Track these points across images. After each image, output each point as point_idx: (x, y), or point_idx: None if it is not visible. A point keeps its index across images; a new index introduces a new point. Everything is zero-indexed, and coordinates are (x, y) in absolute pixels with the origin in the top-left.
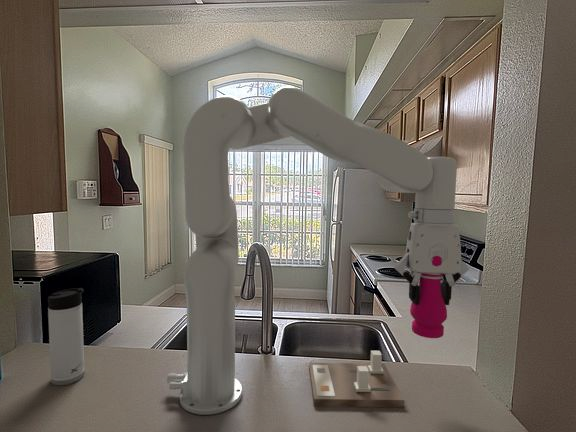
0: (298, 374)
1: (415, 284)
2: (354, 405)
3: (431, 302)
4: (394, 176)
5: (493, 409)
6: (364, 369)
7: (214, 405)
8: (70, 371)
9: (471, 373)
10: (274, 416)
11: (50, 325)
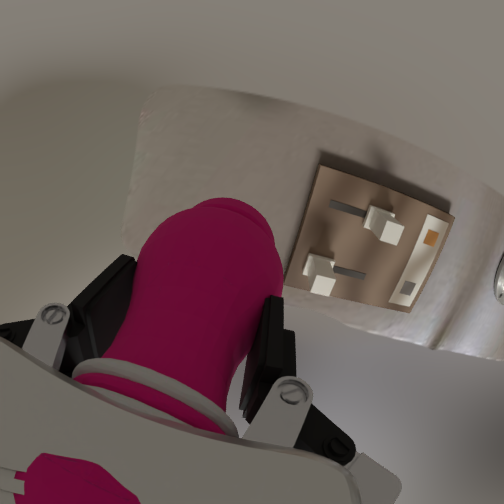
0: (427, 295)
1: (283, 385)
2: (400, 192)
3: (217, 265)
4: None
5: (159, 126)
6: (391, 229)
7: None
8: None
9: (126, 229)
10: (491, 211)
11: None
